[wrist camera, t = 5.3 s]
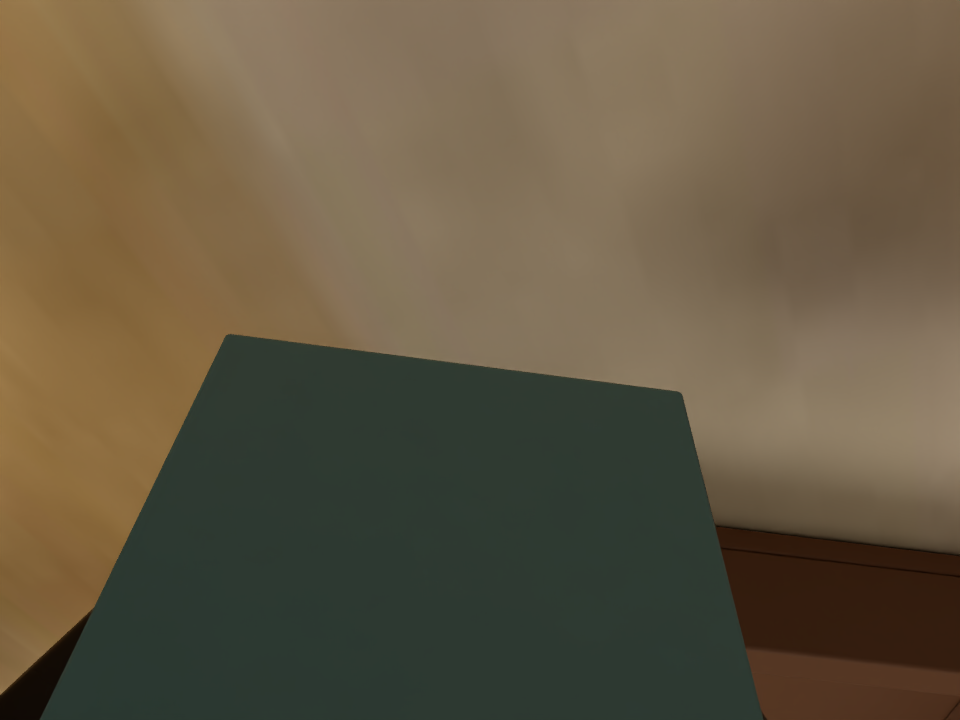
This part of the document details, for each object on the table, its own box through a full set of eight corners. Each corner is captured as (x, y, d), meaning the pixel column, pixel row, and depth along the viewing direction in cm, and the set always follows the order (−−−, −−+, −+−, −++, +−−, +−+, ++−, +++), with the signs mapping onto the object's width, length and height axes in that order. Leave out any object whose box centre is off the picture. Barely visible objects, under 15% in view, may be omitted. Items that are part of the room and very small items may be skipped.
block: (684, 390, 9) (787, 803, 6) (588, 658, 12) (618, 1043, 9) (225, 330, 9) (33, 724, 6) (241, 619, 12) (122, 999, 8)
